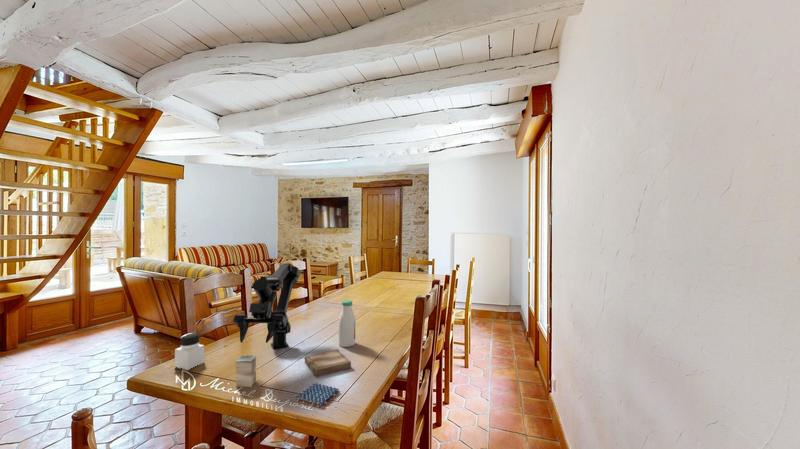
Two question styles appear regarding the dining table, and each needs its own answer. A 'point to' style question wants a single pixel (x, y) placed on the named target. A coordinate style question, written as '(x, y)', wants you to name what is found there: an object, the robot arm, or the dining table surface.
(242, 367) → the beech block
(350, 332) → the milk bottle
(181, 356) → the medicine bottle
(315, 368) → the base
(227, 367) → the dining table surface
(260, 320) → the robot arm
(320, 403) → the woven mat
